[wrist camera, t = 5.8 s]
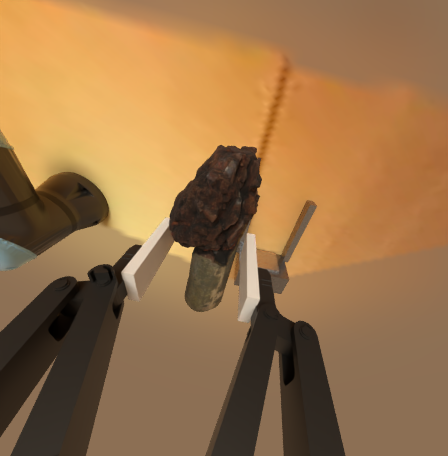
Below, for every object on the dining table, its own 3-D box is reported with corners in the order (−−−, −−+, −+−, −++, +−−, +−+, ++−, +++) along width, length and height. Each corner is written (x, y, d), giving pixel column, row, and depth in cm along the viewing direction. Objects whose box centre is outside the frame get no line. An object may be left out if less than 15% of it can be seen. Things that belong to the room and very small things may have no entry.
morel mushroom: (220, 281, 24) (225, 322, 19) (171, 279, 22) (163, 323, 18) (262, 147, 14) (292, 168, 9) (178, 128, 12) (165, 142, 8)
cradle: (232, 260, 53) (229, 294, 43) (251, 189, 40) (252, 214, 30) (279, 269, 53) (287, 306, 43) (313, 201, 40) (336, 230, 30)
